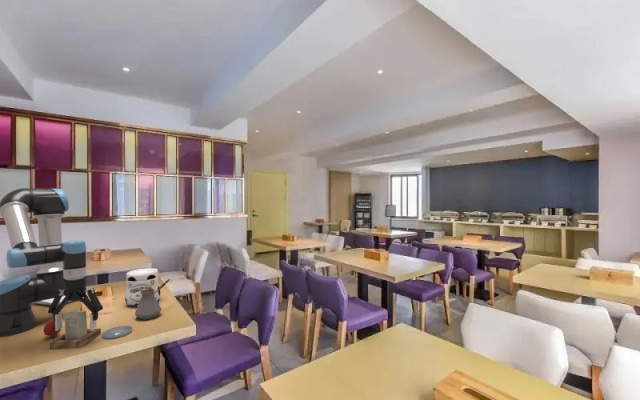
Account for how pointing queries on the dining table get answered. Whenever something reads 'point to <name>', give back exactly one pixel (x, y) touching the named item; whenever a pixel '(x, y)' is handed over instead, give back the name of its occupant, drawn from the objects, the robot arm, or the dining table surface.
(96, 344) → the dining table surface
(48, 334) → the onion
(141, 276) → the milk container
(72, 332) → the skincare box
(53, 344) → the pocket holder
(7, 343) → the dining table surface
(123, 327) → the coaster
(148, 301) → the coffee pot
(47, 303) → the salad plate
